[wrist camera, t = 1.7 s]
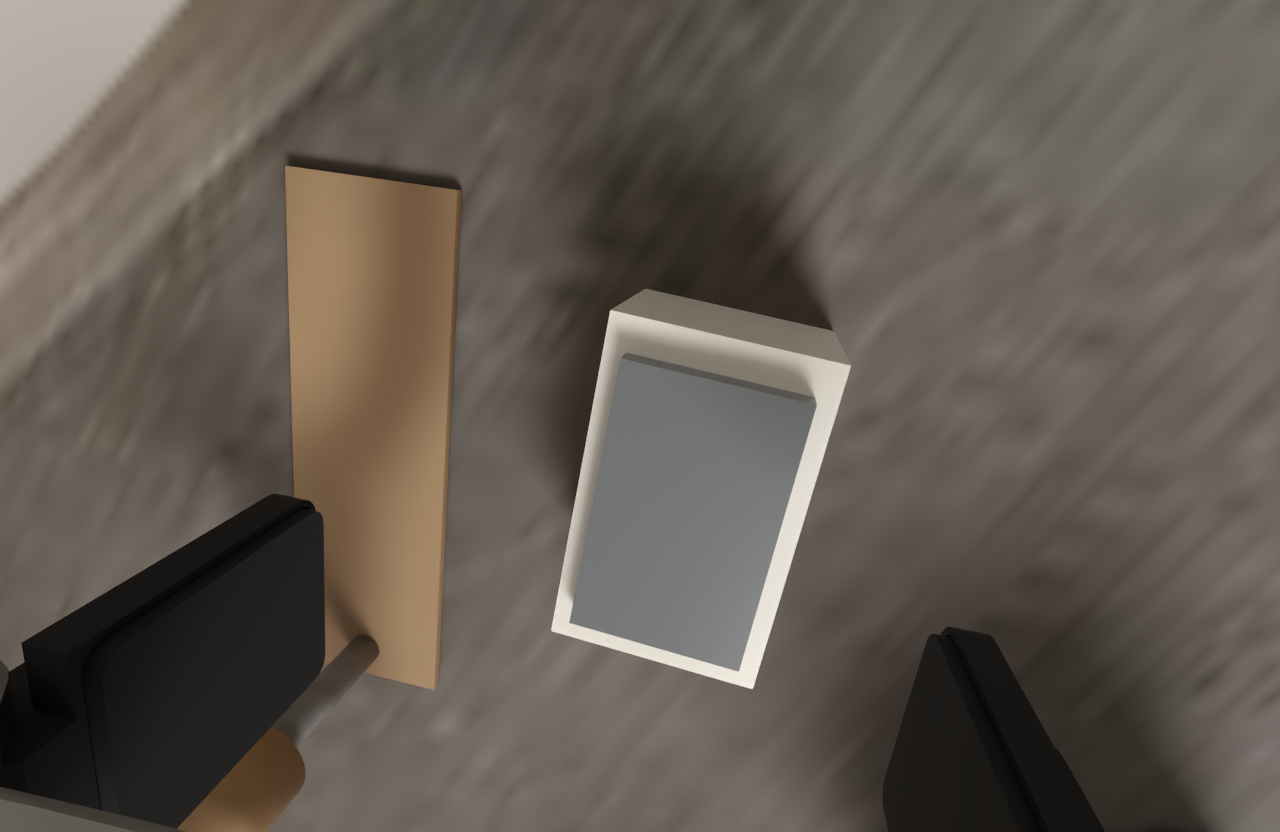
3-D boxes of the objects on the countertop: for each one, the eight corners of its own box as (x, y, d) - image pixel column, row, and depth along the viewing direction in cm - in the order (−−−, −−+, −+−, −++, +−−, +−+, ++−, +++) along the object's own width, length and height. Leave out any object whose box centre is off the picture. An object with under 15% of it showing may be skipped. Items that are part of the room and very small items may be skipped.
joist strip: (461, 190, 18) (457, 190, 18) (438, 684, 23) (434, 689, 23) (292, 166, 19) (285, 165, 19) (304, 651, 24) (298, 656, 24)
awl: (402, 623, 22) (120, 937, 13) (400, 688, 23) (134, 1031, 14) (329, 606, 23) (1, 899, 13) (330, 671, 24) (21, 993, 14)
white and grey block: (832, 330, 18) (854, 372, 13) (756, 591, 20) (752, 706, 16) (646, 288, 18) (603, 314, 14) (595, 547, 21) (543, 645, 16)
